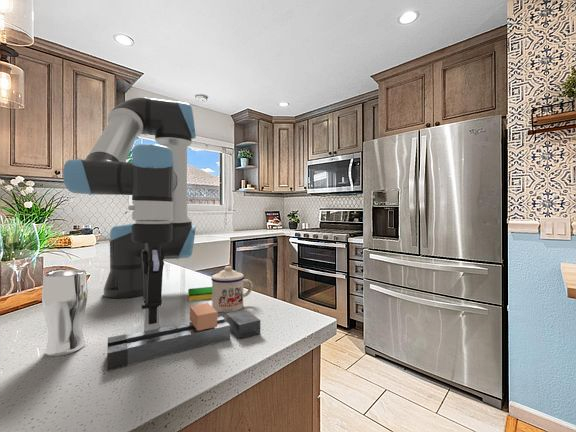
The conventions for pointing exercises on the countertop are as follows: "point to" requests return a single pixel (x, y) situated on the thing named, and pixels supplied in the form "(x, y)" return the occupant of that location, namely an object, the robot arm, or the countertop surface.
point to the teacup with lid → (228, 290)
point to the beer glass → (64, 310)
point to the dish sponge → (200, 293)
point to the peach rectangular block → (203, 316)
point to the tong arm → (153, 333)
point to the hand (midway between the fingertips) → (151, 337)
